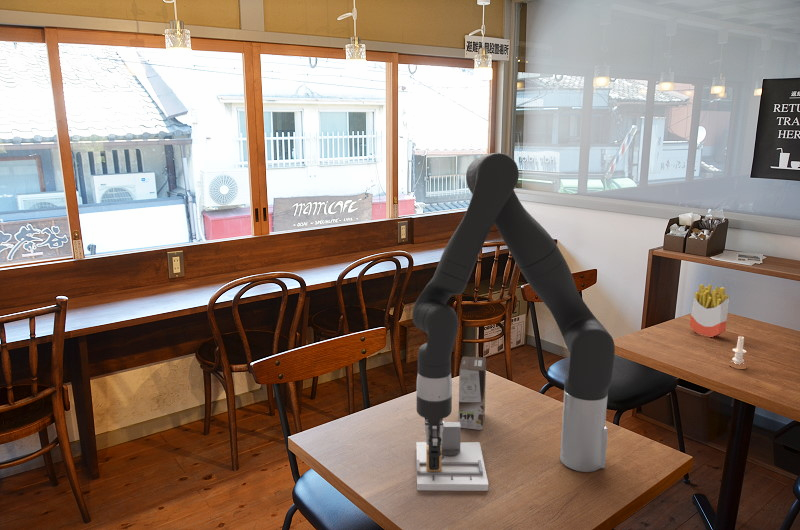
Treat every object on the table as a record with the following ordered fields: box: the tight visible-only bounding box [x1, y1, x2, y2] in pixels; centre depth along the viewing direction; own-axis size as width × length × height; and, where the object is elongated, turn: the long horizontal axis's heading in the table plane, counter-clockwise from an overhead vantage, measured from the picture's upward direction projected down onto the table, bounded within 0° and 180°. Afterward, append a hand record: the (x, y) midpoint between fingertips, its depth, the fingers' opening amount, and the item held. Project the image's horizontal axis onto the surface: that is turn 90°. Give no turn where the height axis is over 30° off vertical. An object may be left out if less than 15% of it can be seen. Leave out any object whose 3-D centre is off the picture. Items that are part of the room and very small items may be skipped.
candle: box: [731, 335, 747, 365], centre depth 188 cm, size 5×5×10 cm
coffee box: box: [457, 356, 487, 431], centre depth 154 cm, size 9×6×16 cm
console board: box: [415, 441, 489, 492], centre depth 135 cm, size 15×17×2 cm
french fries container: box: [689, 284, 730, 338], centre depth 215 cm, size 5×11×18 cm, turn 33°
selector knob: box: [441, 420, 462, 456], centre depth 138 cm, size 5×5×7 cm
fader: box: [426, 444, 442, 472], centre depth 131 cm, size 3×3×5 cm
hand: (433, 464), depth 131 cm, fingers closed on fader, 2 cm apart
